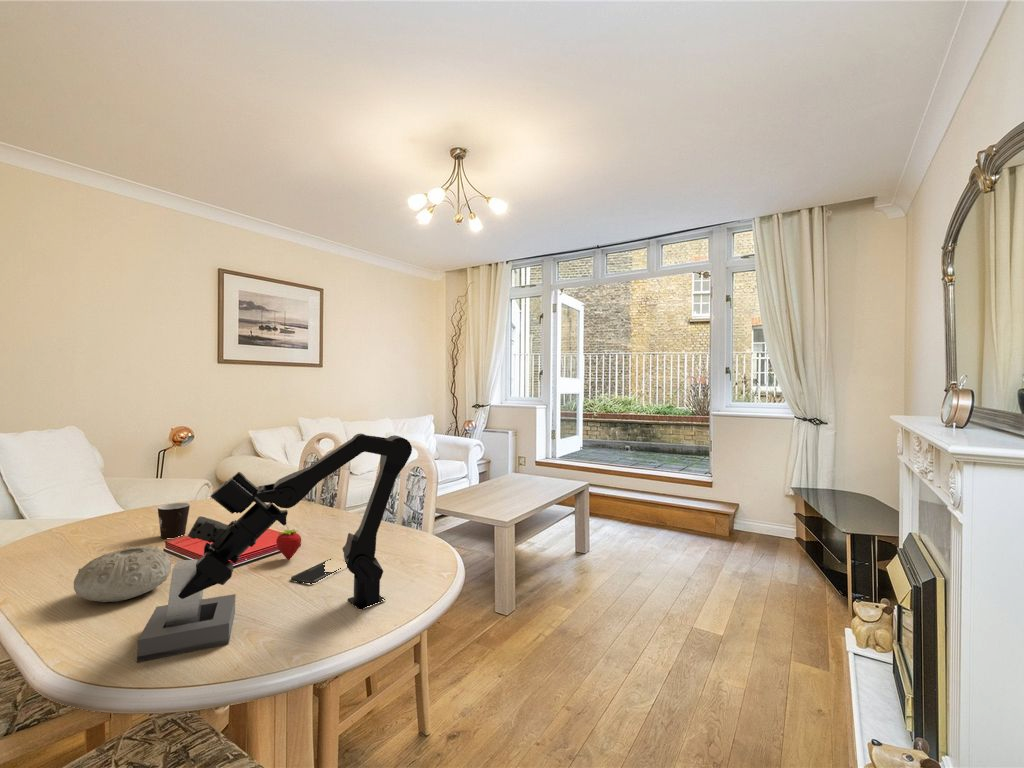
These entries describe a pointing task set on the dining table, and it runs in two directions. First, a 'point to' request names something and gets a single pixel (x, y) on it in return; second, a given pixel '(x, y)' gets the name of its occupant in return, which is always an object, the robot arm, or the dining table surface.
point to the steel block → (189, 606)
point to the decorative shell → (122, 574)
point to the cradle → (188, 630)
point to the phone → (312, 574)
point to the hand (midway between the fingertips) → (183, 589)
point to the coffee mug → (173, 519)
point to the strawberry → (288, 542)
